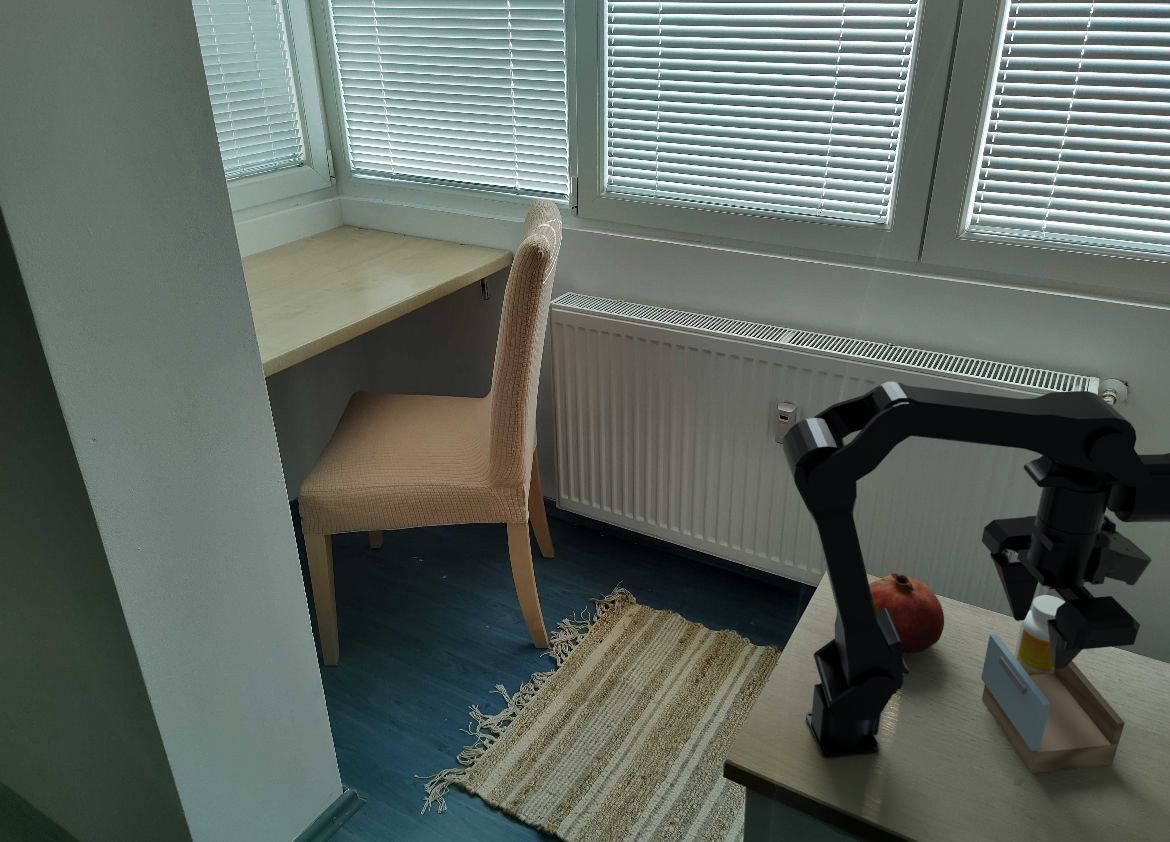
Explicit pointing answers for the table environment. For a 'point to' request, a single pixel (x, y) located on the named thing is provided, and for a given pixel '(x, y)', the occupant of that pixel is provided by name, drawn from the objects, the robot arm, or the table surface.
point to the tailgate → (1015, 692)
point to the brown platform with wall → (1066, 724)
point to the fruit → (910, 610)
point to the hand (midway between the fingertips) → (1038, 642)
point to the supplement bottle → (1037, 636)
